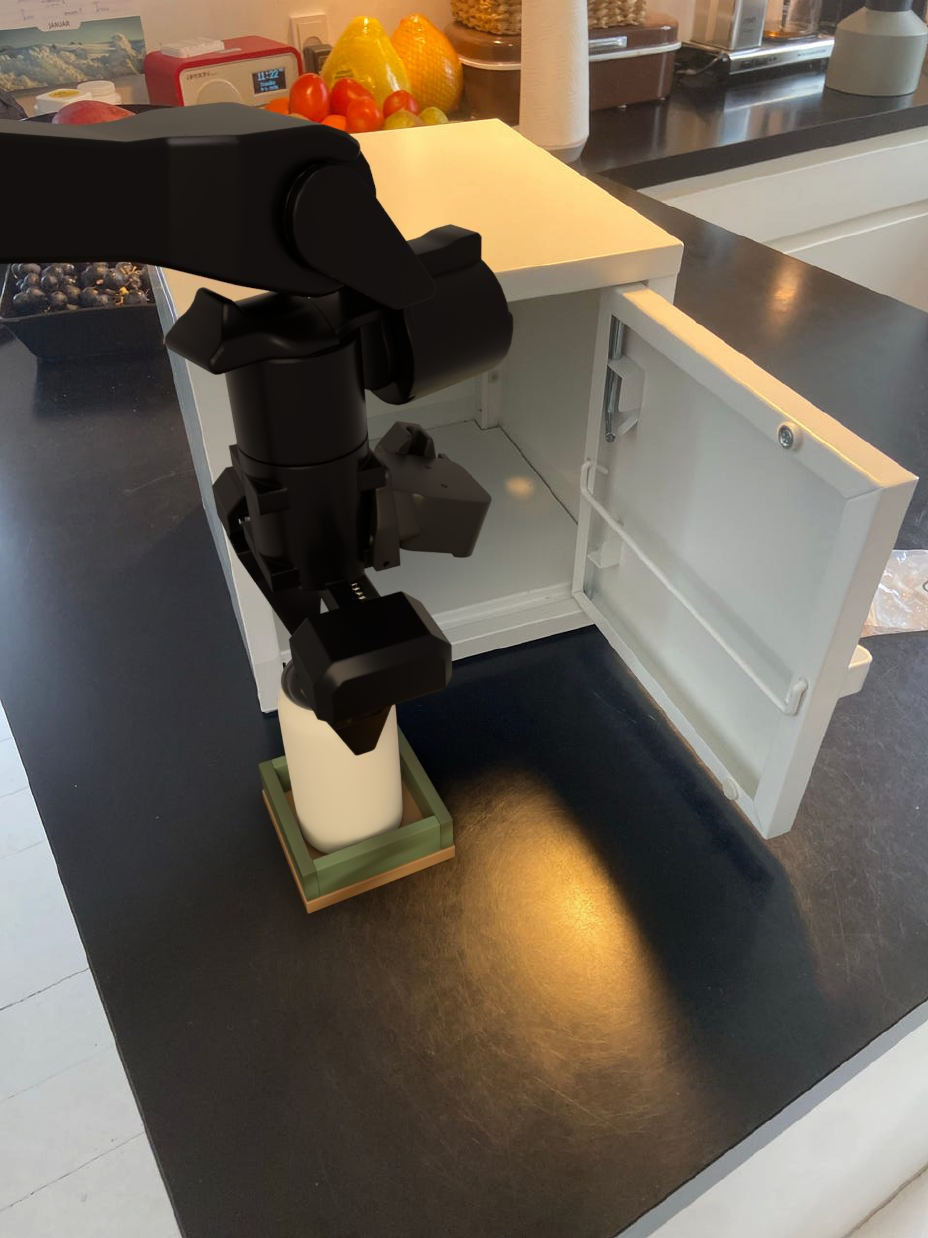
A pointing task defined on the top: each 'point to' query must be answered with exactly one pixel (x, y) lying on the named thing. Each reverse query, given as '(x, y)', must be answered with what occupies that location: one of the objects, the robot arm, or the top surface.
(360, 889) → the tray
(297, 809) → the can
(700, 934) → the top surface
